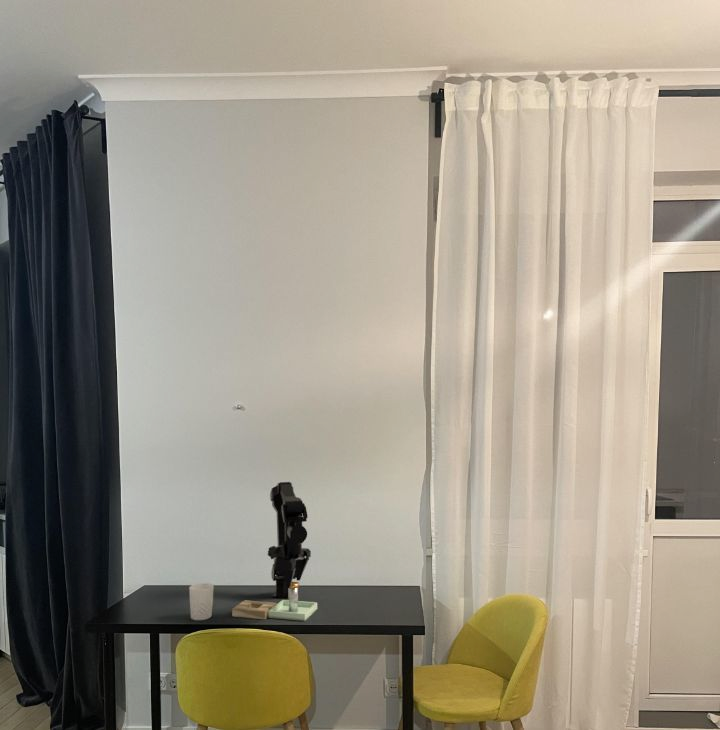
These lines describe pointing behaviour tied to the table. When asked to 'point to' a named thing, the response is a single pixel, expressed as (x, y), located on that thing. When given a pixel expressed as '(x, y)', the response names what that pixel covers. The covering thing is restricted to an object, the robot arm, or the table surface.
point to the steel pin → (293, 597)
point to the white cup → (201, 601)
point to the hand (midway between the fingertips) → (293, 584)
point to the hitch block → (252, 609)
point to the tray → (283, 612)
